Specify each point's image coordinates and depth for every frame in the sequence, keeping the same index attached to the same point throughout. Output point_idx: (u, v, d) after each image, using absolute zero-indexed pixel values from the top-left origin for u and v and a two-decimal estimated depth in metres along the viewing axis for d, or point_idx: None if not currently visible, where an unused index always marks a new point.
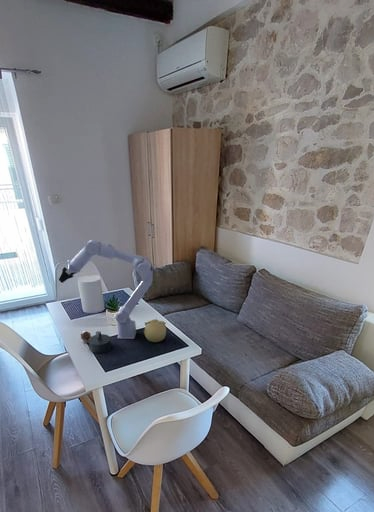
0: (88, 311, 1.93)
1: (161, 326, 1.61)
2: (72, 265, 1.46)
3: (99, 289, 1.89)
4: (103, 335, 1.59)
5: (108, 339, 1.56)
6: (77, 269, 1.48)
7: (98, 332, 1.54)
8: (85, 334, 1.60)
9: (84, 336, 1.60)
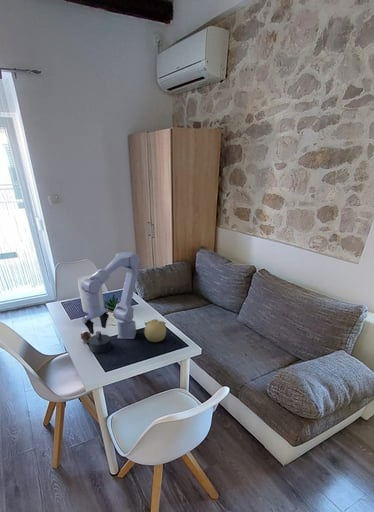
0: (88, 311, 1.93)
1: (161, 326, 1.61)
2: (89, 313, 1.46)
3: None
4: (103, 335, 1.59)
5: (108, 339, 1.56)
6: (94, 314, 1.45)
7: (98, 332, 1.54)
8: (85, 334, 1.60)
9: (84, 336, 1.60)
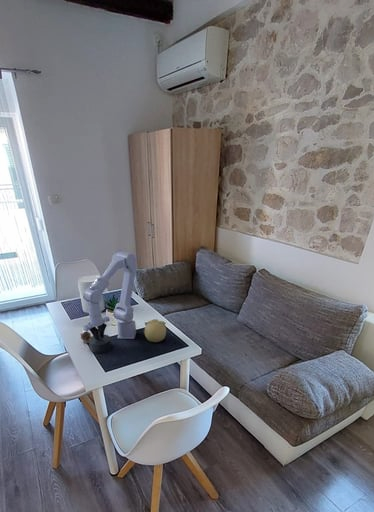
0: (88, 311, 1.93)
1: (161, 326, 1.61)
2: (90, 322, 1.49)
3: None
4: None
5: (108, 339, 1.56)
6: (95, 323, 1.48)
7: (98, 332, 1.54)
8: (85, 334, 1.60)
9: (84, 336, 1.60)
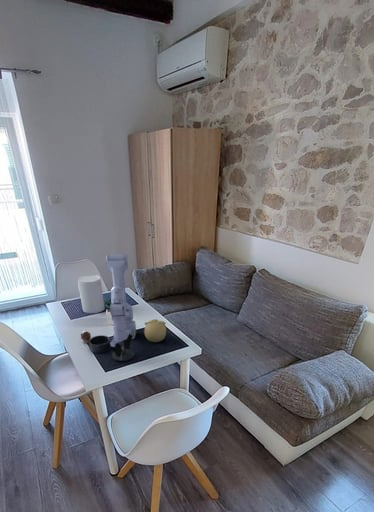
0: (88, 311, 1.93)
1: (161, 326, 1.61)
2: (116, 336, 1.44)
3: (99, 289, 1.89)
4: (124, 349, 1.56)
5: (132, 353, 1.53)
6: (121, 337, 1.44)
7: (122, 347, 1.50)
8: (85, 334, 1.60)
9: (84, 336, 1.60)
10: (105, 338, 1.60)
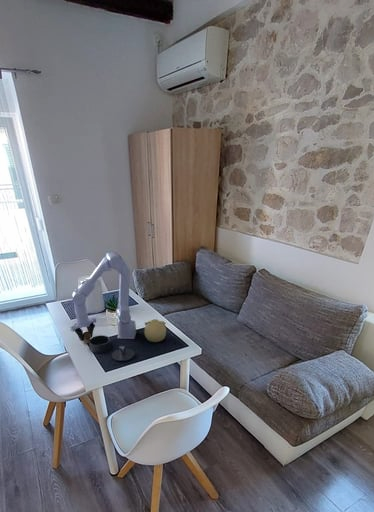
0: (88, 311, 1.93)
1: (161, 326, 1.61)
2: None
3: (99, 289, 1.89)
4: (124, 349, 1.56)
5: (132, 353, 1.53)
6: None
7: (122, 347, 1.50)
8: (85, 334, 1.60)
9: (84, 336, 1.60)
10: (105, 338, 1.60)
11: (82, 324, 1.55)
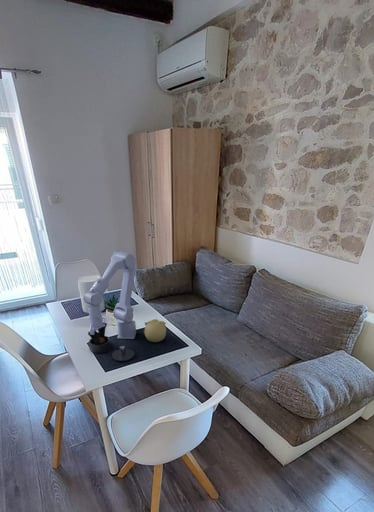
0: (88, 311, 1.93)
1: (161, 326, 1.61)
2: None
3: None
4: (124, 349, 1.56)
5: (132, 353, 1.53)
6: None
7: (122, 347, 1.50)
8: (101, 339, 1.55)
9: (101, 341, 1.55)
10: (105, 338, 1.60)
11: (99, 325, 1.49)
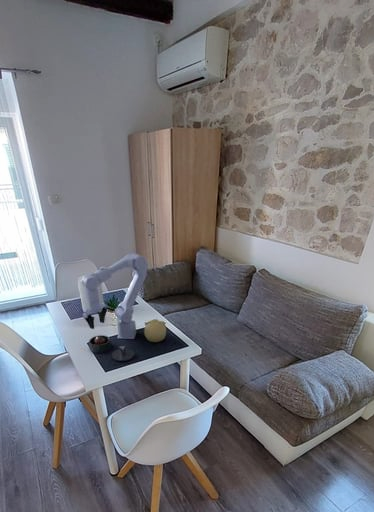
0: None
1: (161, 326, 1.61)
2: None
3: (99, 289, 1.89)
4: (124, 349, 1.56)
5: (132, 353, 1.53)
6: None
7: (122, 347, 1.50)
8: (101, 339, 1.55)
9: (101, 341, 1.55)
10: (105, 338, 1.60)
11: (95, 310, 1.51)
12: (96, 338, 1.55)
